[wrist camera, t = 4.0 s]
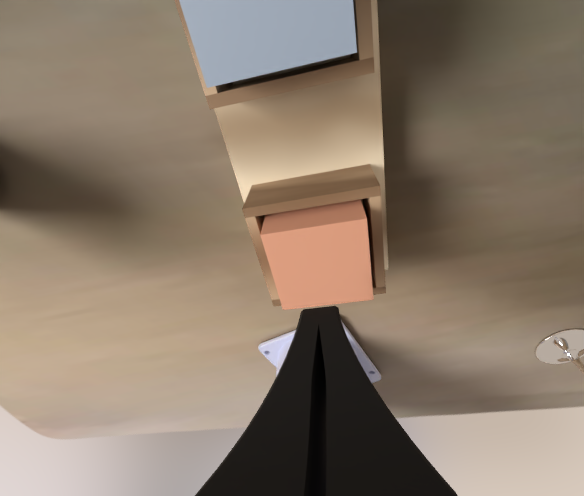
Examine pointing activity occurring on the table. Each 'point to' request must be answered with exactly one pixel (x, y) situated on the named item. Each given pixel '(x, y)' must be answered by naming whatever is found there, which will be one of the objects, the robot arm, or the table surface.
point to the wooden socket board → (309, 139)
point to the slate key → (266, 35)
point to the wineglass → (562, 348)
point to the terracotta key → (319, 254)
